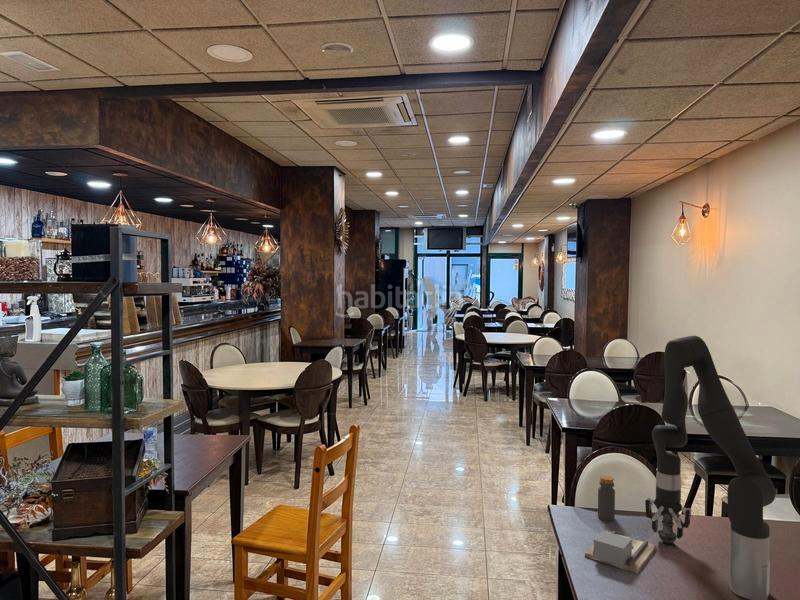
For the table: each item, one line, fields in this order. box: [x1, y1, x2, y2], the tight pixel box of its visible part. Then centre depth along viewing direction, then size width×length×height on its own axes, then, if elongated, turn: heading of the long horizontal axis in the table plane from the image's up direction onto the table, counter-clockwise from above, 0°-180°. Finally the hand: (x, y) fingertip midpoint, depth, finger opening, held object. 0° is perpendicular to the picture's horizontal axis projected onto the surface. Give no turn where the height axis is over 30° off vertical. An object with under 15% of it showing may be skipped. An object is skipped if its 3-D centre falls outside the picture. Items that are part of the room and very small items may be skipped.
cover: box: [593, 530, 633, 567], centre depth 170 cm, size 9×8×6 cm
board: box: [584, 530, 657, 574], centre depth 177 cm, size 16×20×2 cm
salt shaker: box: [657, 514, 677, 549], centre depth 183 cm, size 6×6×12 cm
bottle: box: [597, 475, 616, 522], centre depth 203 cm, size 6×6×15 cm
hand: (667, 534), depth 183 cm, fingers open, 6 cm apart
